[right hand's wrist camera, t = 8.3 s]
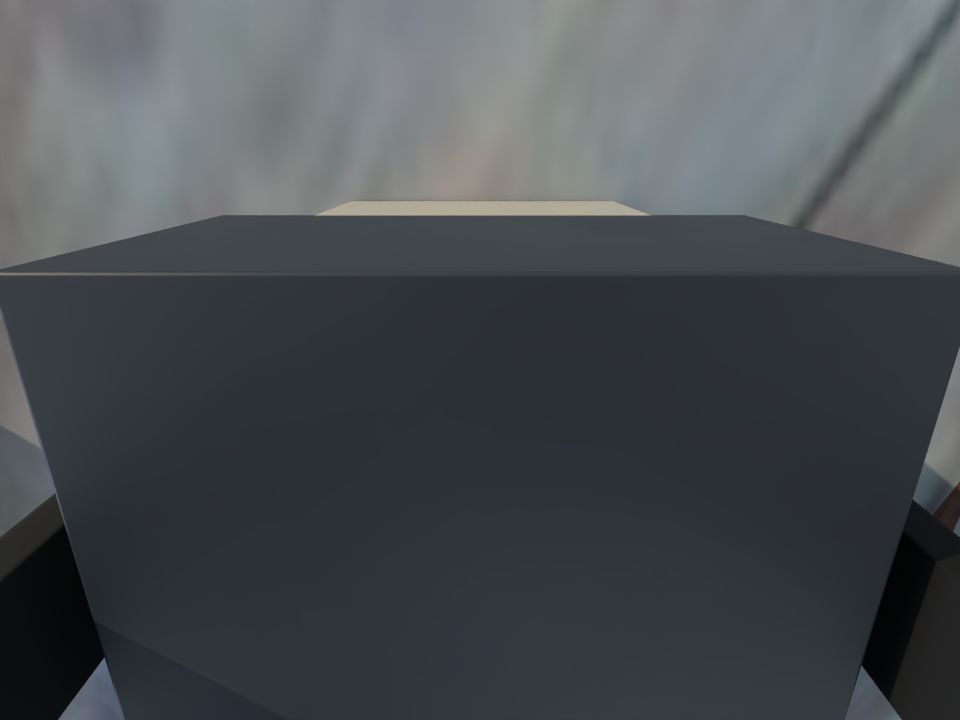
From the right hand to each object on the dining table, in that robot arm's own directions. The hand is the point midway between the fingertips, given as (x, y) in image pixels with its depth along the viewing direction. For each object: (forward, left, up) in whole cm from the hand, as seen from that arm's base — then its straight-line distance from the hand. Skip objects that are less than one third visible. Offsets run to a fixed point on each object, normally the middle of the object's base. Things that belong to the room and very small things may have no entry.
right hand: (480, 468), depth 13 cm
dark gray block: (0, 0, -1) cm, 1 cm away
